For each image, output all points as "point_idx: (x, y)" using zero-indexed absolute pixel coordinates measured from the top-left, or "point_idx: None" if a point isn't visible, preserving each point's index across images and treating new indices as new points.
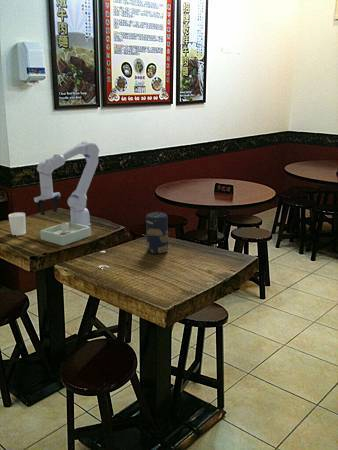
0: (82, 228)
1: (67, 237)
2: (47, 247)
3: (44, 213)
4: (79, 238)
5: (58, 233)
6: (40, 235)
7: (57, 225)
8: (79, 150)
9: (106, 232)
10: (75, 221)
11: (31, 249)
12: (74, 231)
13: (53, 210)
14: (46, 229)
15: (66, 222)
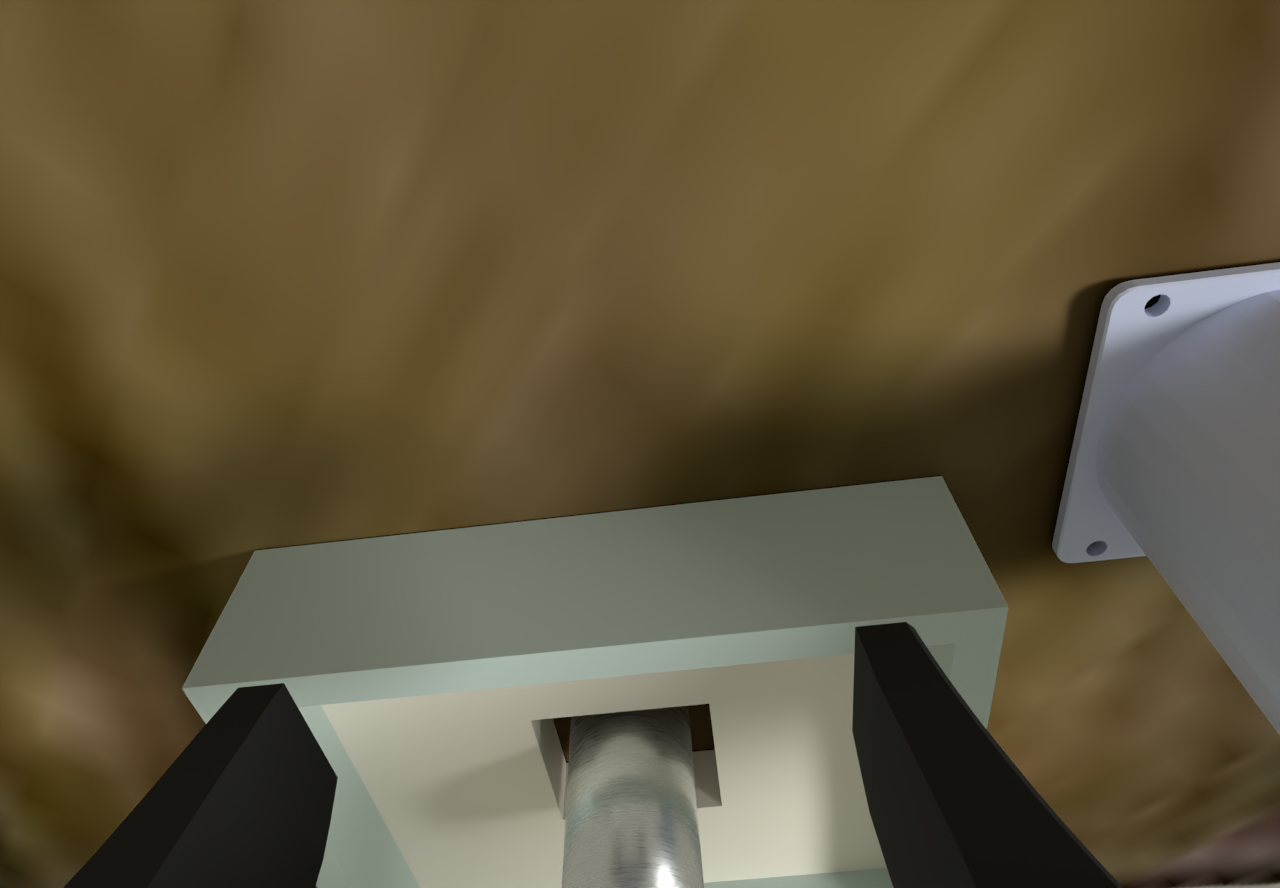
0: None
1: None
2: None
3: (312, 853)
4: None
5: (540, 706)
6: (227, 602)
7: (637, 663)
8: None
9: (1123, 839)
10: (1168, 581)
11: (12, 768)
12: (789, 768)
13: (862, 676)
14: (332, 697)
15: (916, 628)
